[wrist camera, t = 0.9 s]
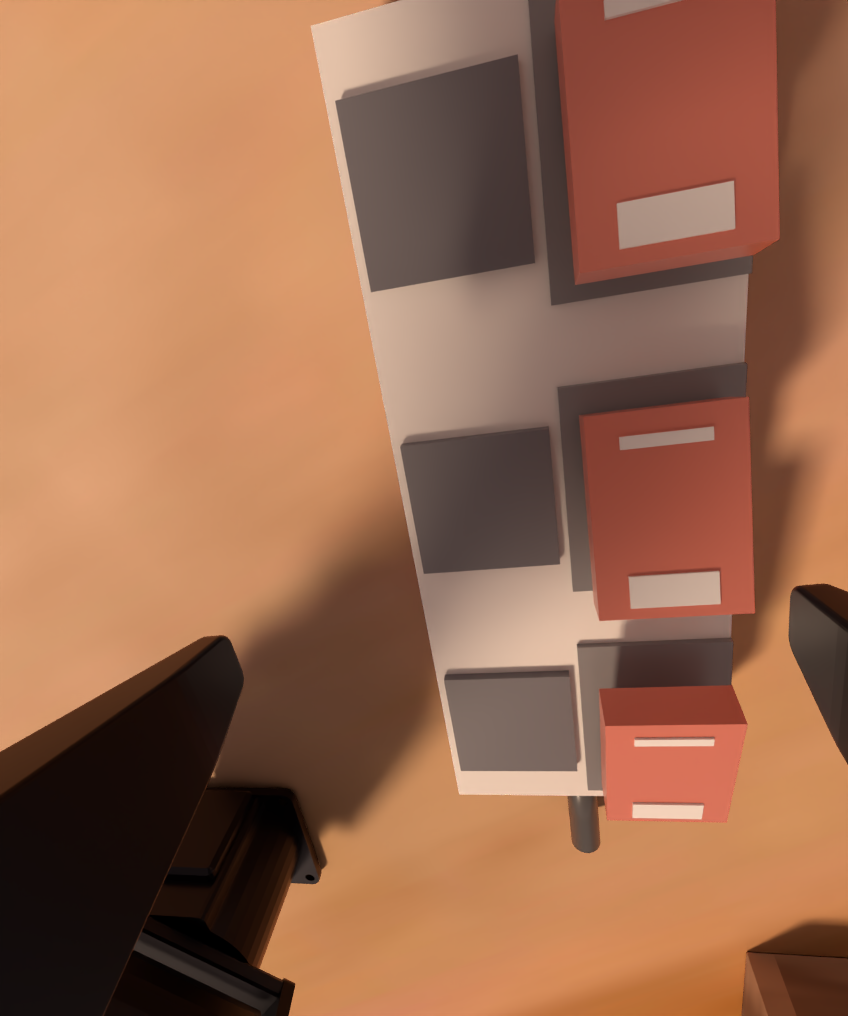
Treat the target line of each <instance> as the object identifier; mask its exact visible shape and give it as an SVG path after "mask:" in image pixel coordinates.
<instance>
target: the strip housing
mask: <svg viewBox="0 0 848 1016" xmlns="http://www.w3.org/2000/svg"><path fill="white" fill-rule="evenodd" d="M555 4H556V0H399V1H396V2H392V3H389V4H385V5H382V6H378V7H375V8H371V9H368V10H364V11H361V12H357V13H354V14H350V15H347V16H343V17H340V18H336V19H333V20H329V21H326V22H322V23H319V24H315V25H312V26H311V30H312V35H313V41H314V46H315V51H316V56H317V61H318V66H319V72H320V77H321V82H322V87H323V92H324V98H325V103H326V108H327V113H328V118H329V123H330V129H331V134H332V139H333V144H334V149H335V154H336V160H337V165H338V170H339V175H340V180H341V185H342V191H343V196H344V201H345V206H346V211H347V216H348V222H349V227H350V232H351V237H352V242H353V247H354V253H355V258H356V263H357V268H358V273H359V279H360V284H361V289H362V294H363V299H364V304H365V310H366V315H367V320H368V325H369V330H370V335H371V341H372V346H373V351H374V356H375V361H376V366H377V372H378V377H379V382H380V387H381V392H382V397H383V403H384V408H385V413H386V418H387V423H388V428H389V434H390V439H391V444H392V449H393V454H394V460H395V465H396V470H397V475H398V480H399V485H400V491H401V496H402V501H403V506H404V511H405V516H406V522H407V527H408V532H409V537H410V542H411V547H412V553H413V558H414V563H415V568H416V573H417V578H418V584H419V589H420V594H421V599H422V604H423V609H424V615H425V620H426V625H427V630H428V635H429V641H430V646H431V651H432V656H433V661H434V666H435V672H436V677H437V682H438V687H439V692H440V697H441V703H442V708H443V713H444V718H445V723H446V728H447V734H448V739H449V744H450V749H451V754H452V759H453V765H454V770H455V775H456V780H457V785H458V790H459V794H467V795H555V796H568V805H569V816H570V826H571V837H572V843H573V845H574V846H575V847H576V848H577V849H578V850H579V851H581V852H584V853H591V852H594V851H596V850H597V849H598V848H599V846H600V832H599V817H598V802H597V796H604V795H603V788H602V775H601V741H600V707H599V689H604V688H643V687H681V686H720V685H731V679H732V659H733V640H732V638H731V627H732V615H711V616H691V617H671V618H651V619H631V620H611V621H599V618H598V615H597V612H596V609H595V605H594V599H593V586H592V574H591V561H590V549H589V536H588V524H587V511H586V499H585V486H584V474H583V461H582V449H581V436H580V424H579V415H585V414H593V413H601V412H609V411H617V410H626V409H634V408H642V407H650V406H658V405H667V404H675V403H683V402H691V401H699V400H707V399H716V398H724V397H746V382H747V363H746V362H744V358H745V337H746V317H747V296H748V275H749V274H750V273H752V263H753V255H751V256H745V257H739V258H734V259H728V260H722V261H716V262H710V263H704V264H698V265H692V266H686V267H680V268H674V269H668V270H662V271H656V272H650V273H644V274H638V275H632V276H626V277H621V278H615V279H609V280H603V281H597V282H591V283H585V284H579V285H575V280H574V268H573V255H572V242H571V229H570V216H569V204H568V191H567V178H566V165H565V152H564V140H563V127H562V114H561V101H560V88H559V76H558V63H557V50H556V37H555V24H554V18H555Z"/></svg>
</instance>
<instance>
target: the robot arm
mask: <svg viewBox="0 0 848 1016" xmlns="http://www.w3.org/2000/svg"><path fill="white" fill-rule="evenodd" d="M789 642H790V646H791V649H792V652H793V654H794V656H795V658H796V661H797V663H798V665H799V667H800V669H801V671H802V673H803V675H804V678H805V680H806V682H807V684H808V686H809V688H810V690H811V692H812V695H813V697H814V699H815V701H816V703H817V705H818V707H819V710H820V712H821V714H822V716H823V718H824V720H825V722H826V724H827V727H828V729H829V731H830V733H831V735H832V737H833V739H834V741H835V743H836V745H837V747H838V748H839V750H840V752H841V754H842V755H843V757H844V759H845V761H846V762H847V764H848V592H847V591H844V590H842V589H839V588H837V587H834V586H831V585H829V584H813V585H802V586H796V587H795V588H794V589H793V590H792V593H791V596H790V615H789ZM243 682H244V677H243V671H242V669H241V666H240V664H239V661H238V659H237V656H236V653H235V651H234V648H233V646H232V643H231V641H230V640H229V639H228V638H227V637H226V636H224V635H219V636H207V637H203V638H200V639H199V640H197V641H195V642H193V643H192V644H190V645H188V646H186V647H185V648H183V649H181V650H179V651H178V652H176V653H174V654H172V655H170V656H169V657H167V658H165V659H163V660H162V661H160V662H158V663H156V664H155V665H153V666H151V667H149V668H148V669H146V670H144V671H142V672H140V673H139V674H137V675H135V676H133V677H132V678H130V679H128V680H126V681H125V682H123V683H121V684H119V685H117V686H116V687H114V688H112V689H110V690H109V691H107V692H105V693H103V694H102V695H100V696H98V697H96V698H95V699H93V700H91V701H89V702H87V703H86V704H84V705H82V706H80V707H79V708H77V709H75V710H73V711H72V712H70V713H68V714H66V715H65V716H63V717H61V718H59V719H57V720H56V721H54V722H52V723H50V724H49V725H47V726H45V727H43V728H42V729H40V730H38V731H36V732H35V733H33V734H31V735H29V736H27V737H26V738H24V739H22V740H20V741H19V742H17V743H15V744H13V745H12V746H10V747H8V748H6V749H5V750H3V751H1V752H0V1016H288V1015H289V1011H290V1006H291V1002H292V997H293V993H294V988H295V983H293V982H291V981H289V980H287V979H285V978H284V979H283V980H281V979H279V978H277V977H275V976H273V975H271V974H269V973H267V972H265V971H263V970H261V969H259V968H260V965H261V963H262V960H263V957H264V955H265V952H266V949H267V946H268V944H269V941H270V938H271V935H272V933H273V930H274V927H275V925H276V922H277V919H278V916H279V914H280V911H281V908H282V905H283V903H284V900H285V897H286V894H287V892H288V889H289V886H290V884H291V883H302V884H316V883H318V881H319V879H320V876H321V868H320V865H319V862H318V859H317V857H316V854H315V851H314V848H313V845H312V842H311V839H310V836H309V833H308V830H307V827H306V825H305V822H304V819H303V816H302V813H301V810H300V807H299V804H298V801H297V798H296V796H295V794H294V793H293V792H292V791H291V790H289V789H284V788H206V787H207V785H208V782H209V780H210V778H211V775H212V773H213V771H214V768H215V766H216V763H217V760H218V758H219V755H220V752H221V749H222V746H223V744H224V741H225V738H226V735H227V732H228V729H229V726H230V723H231V720H232V717H233V714H234V711H235V708H236V705H237V702H238V699H239V696H240V693H241V690H242V687H243Z"/></svg>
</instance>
